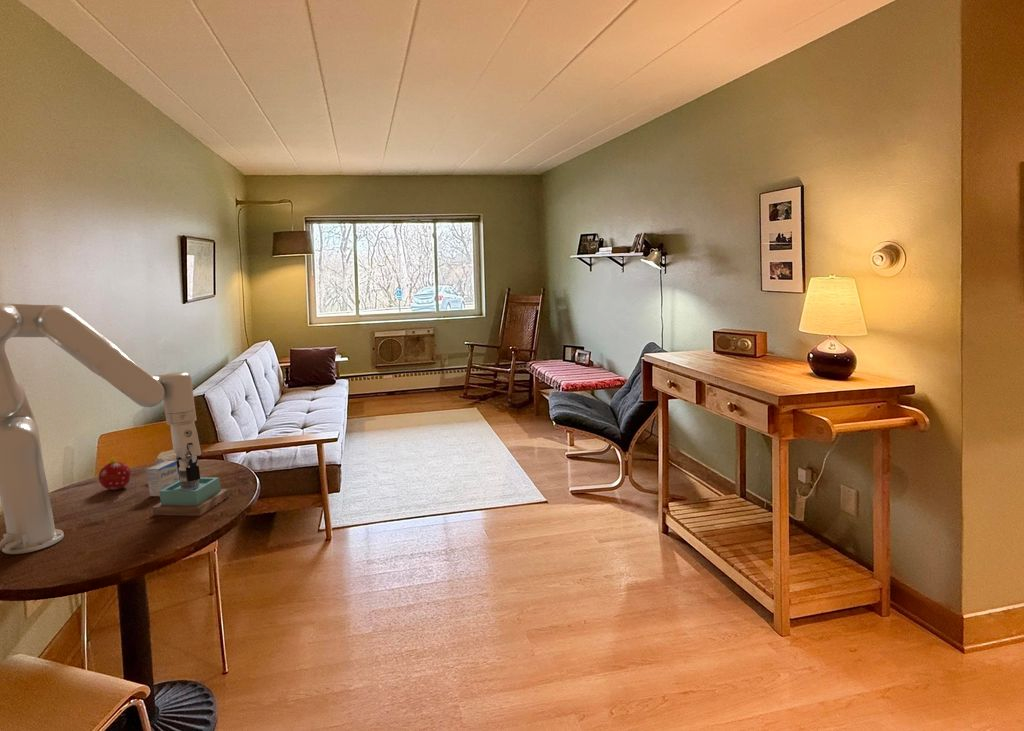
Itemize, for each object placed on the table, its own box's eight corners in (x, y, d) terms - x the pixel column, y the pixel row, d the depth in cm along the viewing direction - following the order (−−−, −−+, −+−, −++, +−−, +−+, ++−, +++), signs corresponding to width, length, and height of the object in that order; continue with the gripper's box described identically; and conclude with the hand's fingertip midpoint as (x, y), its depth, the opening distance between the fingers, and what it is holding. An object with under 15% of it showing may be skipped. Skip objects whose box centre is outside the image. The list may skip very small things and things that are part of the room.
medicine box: (162, 497, 191) (158, 469, 190) (149, 496, 192) (145, 468, 191) (180, 487, 199) (177, 460, 198) (168, 487, 200) (164, 460, 199)
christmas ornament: (95, 494, 196) (89, 463, 194) (110, 485, 204) (105, 454, 203) (124, 493, 196) (119, 461, 195) (138, 483, 205) (133, 453, 203)
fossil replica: (204, 470, 216) (181, 470, 219) (201, 445, 216) (178, 446, 219) (175, 479, 205) (151, 479, 208) (172, 453, 204) (148, 454, 207)
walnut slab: (200, 518, 176) (199, 507, 175) (154, 517, 178) (152, 507, 177) (229, 498, 189) (228, 488, 189) (186, 498, 192) (185, 488, 191)
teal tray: (197, 505, 177) (195, 491, 176) (161, 504, 179) (159, 491, 178) (220, 490, 188) (219, 477, 187) (186, 490, 189) (184, 477, 189)
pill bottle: (177, 488, 182) (174, 460, 180) (194, 483, 186) (191, 455, 184) (186, 492, 179) (182, 463, 178) (202, 486, 183) (199, 458, 181)
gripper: (205, 419, 175) (212, 480, 178) (186, 409, 188) (194, 466, 191) (175, 424, 170) (183, 487, 173) (158, 414, 183) (166, 473, 186)
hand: (189, 476), depth 182 cm, fingers open, 8 cm apart
